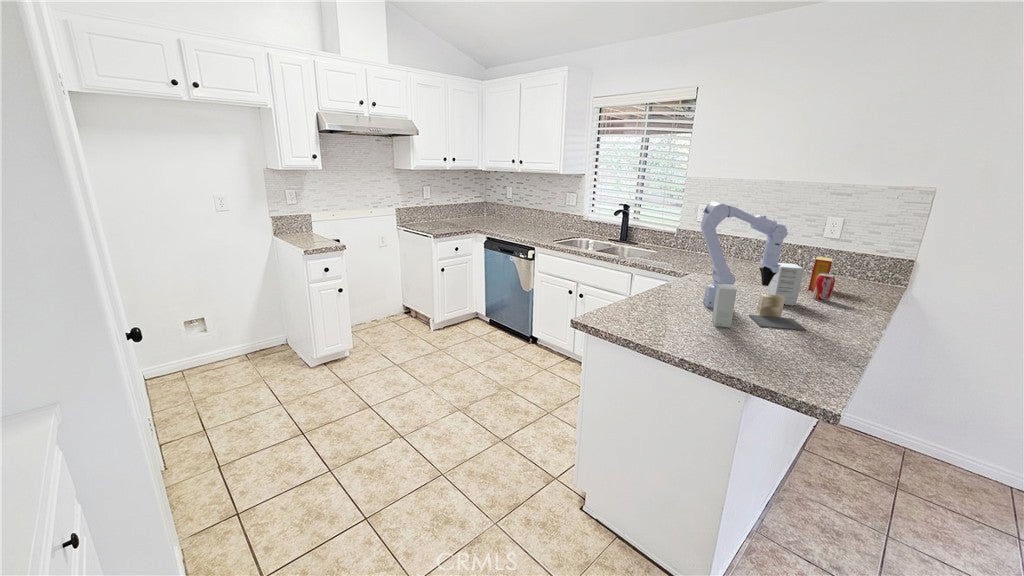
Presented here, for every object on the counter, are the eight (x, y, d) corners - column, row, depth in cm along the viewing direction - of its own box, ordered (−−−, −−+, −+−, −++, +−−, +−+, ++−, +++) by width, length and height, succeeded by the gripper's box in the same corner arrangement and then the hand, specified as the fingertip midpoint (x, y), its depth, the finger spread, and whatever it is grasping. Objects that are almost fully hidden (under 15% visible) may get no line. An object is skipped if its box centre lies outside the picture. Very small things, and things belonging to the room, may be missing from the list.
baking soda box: (809, 286, 220) (817, 255, 215) (825, 288, 216) (833, 257, 211) (808, 290, 212) (815, 258, 208) (824, 292, 209) (832, 260, 204)
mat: (759, 326, 162) (760, 325, 162) (748, 315, 174) (749, 314, 173) (806, 330, 160) (806, 329, 160) (792, 319, 171) (792, 318, 171)
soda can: (813, 301, 195) (819, 275, 192) (809, 296, 202) (815, 272, 198) (831, 303, 193) (838, 277, 189) (827, 299, 199) (833, 273, 196)
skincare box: (730, 328, 160) (738, 290, 155) (713, 326, 161) (720, 288, 157) (727, 320, 167) (734, 284, 163) (710, 318, 169) (717, 282, 165)
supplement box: (796, 306, 188) (805, 268, 183) (773, 304, 189) (781, 266, 184) (787, 299, 197) (795, 263, 192) (765, 297, 198) (773, 261, 193)
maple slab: (759, 316, 173) (763, 296, 171) (756, 313, 176) (760, 294, 174) (780, 318, 172) (785, 298, 170) (777, 315, 175) (782, 295, 172)
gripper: (790, 257, 168) (782, 291, 172) (775, 250, 182) (768, 281, 186) (770, 256, 169) (763, 289, 173) (757, 249, 183) (751, 280, 187)
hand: (765, 285), depth 180 cm, fingers closed
